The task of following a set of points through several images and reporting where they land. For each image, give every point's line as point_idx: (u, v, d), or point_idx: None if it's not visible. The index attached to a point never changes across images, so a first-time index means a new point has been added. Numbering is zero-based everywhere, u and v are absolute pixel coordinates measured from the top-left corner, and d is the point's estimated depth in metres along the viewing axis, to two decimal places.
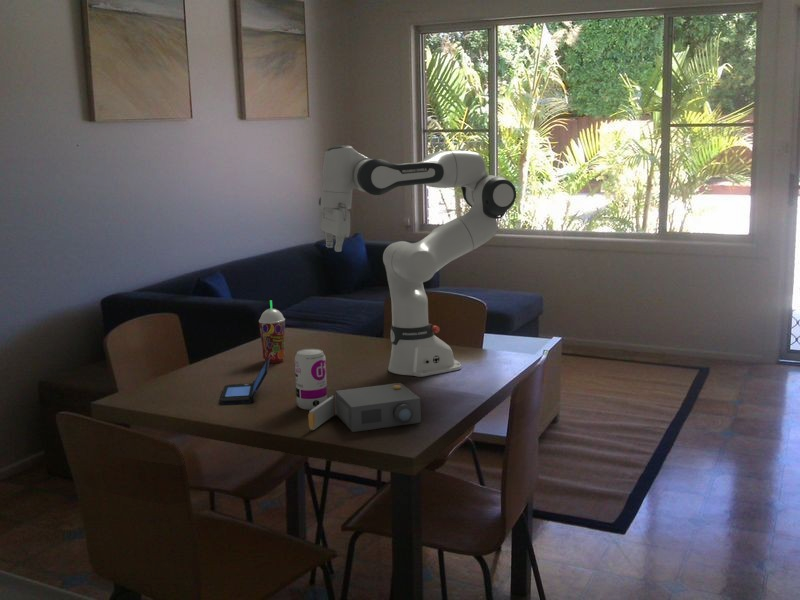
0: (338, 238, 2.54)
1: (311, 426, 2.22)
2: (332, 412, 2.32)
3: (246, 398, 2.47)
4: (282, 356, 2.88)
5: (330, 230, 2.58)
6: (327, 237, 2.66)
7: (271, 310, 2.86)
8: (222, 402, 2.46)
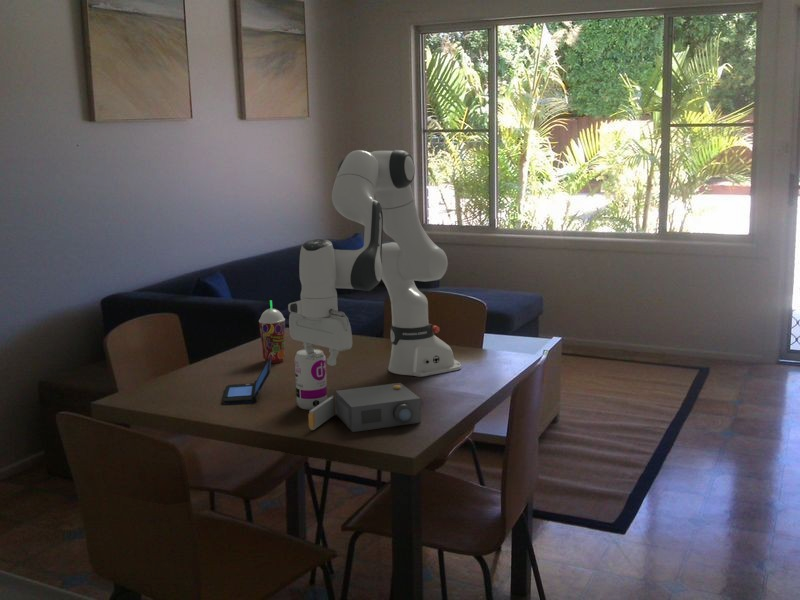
0: (334, 351, 2.15)
1: (311, 426, 2.22)
2: (332, 412, 2.32)
3: (249, 398, 2.47)
4: (282, 356, 2.88)
5: (320, 342, 2.17)
6: (307, 348, 2.22)
7: (271, 310, 2.86)
8: (225, 402, 2.46)
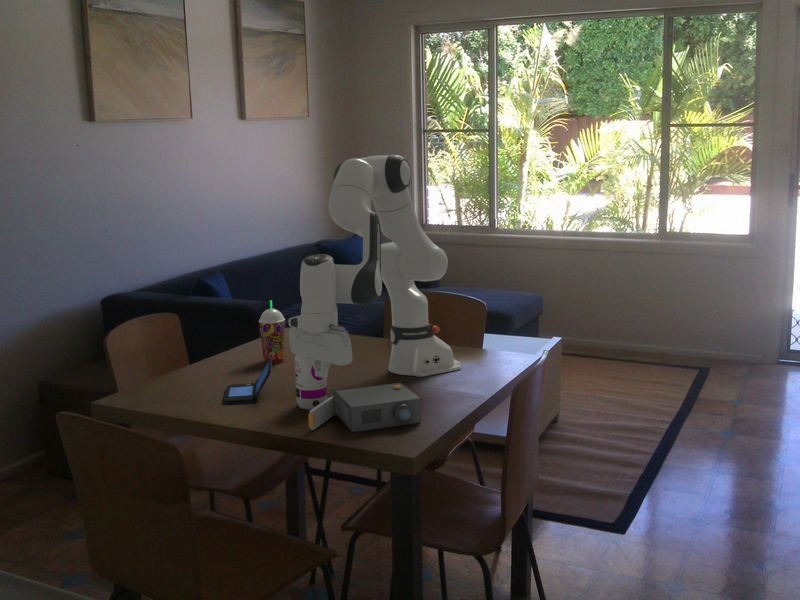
0: (325, 363, 2.18)
1: (311, 426, 2.22)
2: (332, 412, 2.32)
3: (250, 398, 2.47)
4: (282, 356, 2.88)
5: (320, 357, 2.17)
6: (315, 365, 2.21)
7: (271, 310, 2.86)
8: (226, 402, 2.46)
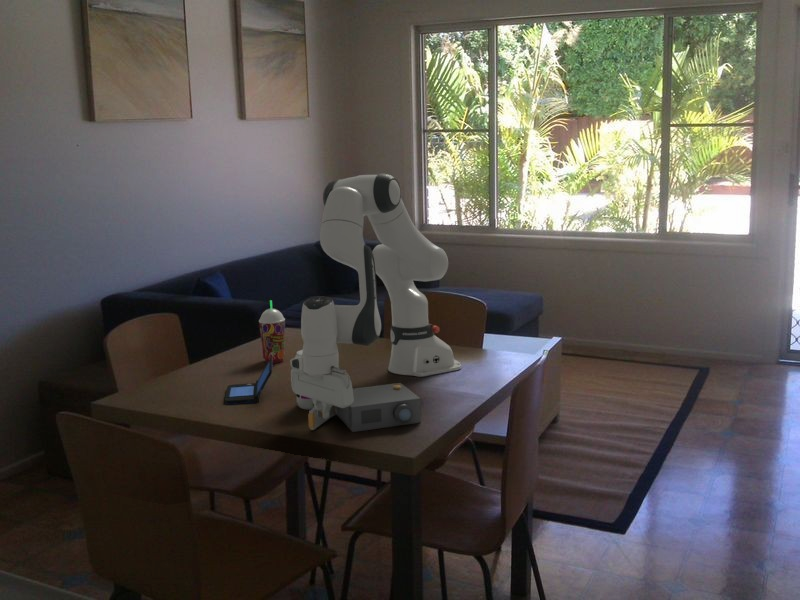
0: (327, 404, 2.20)
1: (311, 426, 2.22)
2: (332, 412, 2.32)
3: (251, 398, 2.47)
4: (282, 356, 2.88)
5: (321, 398, 2.19)
6: (317, 405, 2.23)
7: (271, 310, 2.86)
8: (227, 402, 2.46)
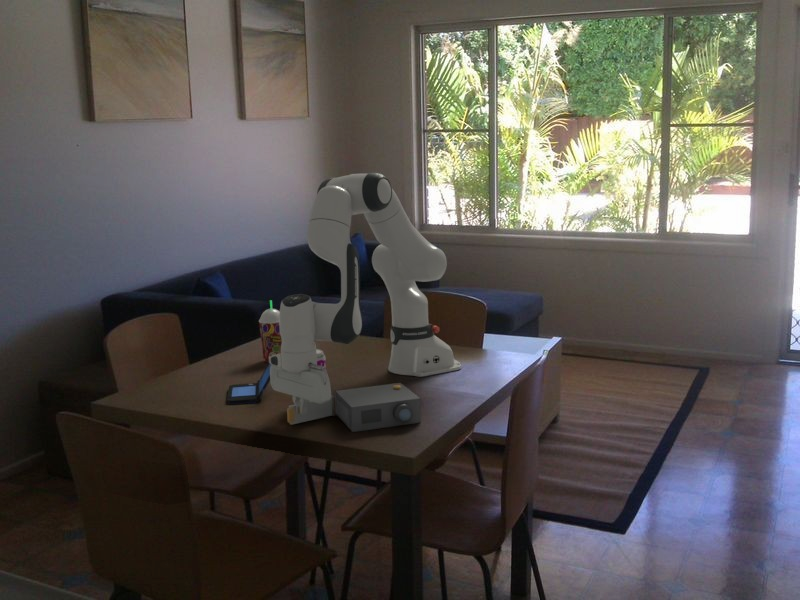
0: (304, 400, 2.24)
1: (288, 420, 2.26)
2: (329, 412, 2.33)
3: (253, 398, 2.47)
4: None
5: (299, 394, 2.23)
6: (296, 402, 2.26)
7: (271, 310, 2.86)
8: (229, 402, 2.46)
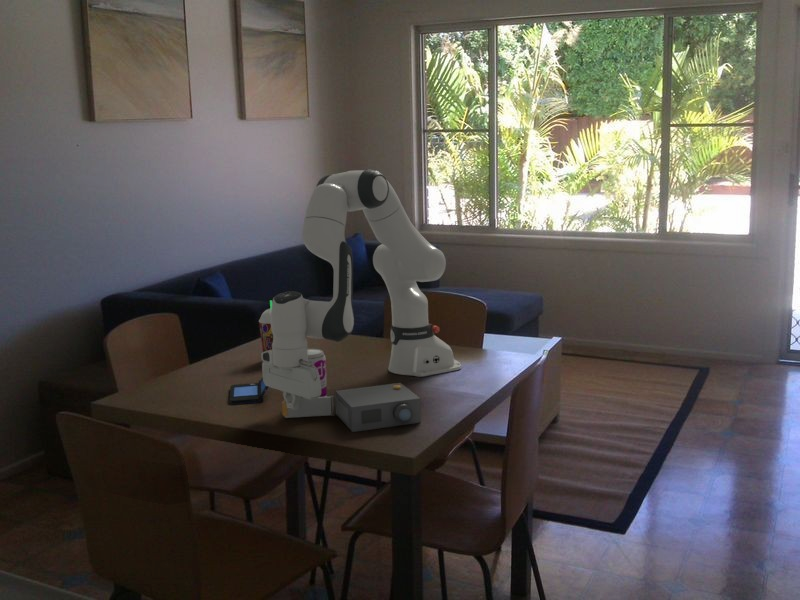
0: (296, 396, 2.27)
1: None
2: (327, 411, 2.33)
3: (255, 397, 2.48)
4: None
5: (290, 390, 2.26)
6: (287, 397, 2.30)
7: None
8: (232, 402, 2.46)
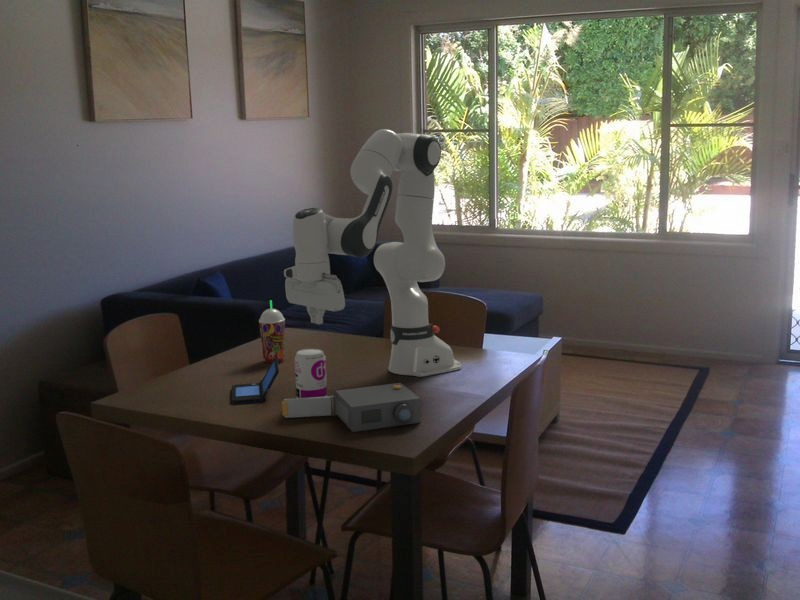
0: (320, 310, 2.33)
1: None
2: (327, 411, 2.33)
3: (258, 397, 2.48)
4: (282, 356, 2.88)
5: (314, 304, 2.32)
6: (311, 312, 2.36)
7: (271, 310, 2.86)
8: (234, 402, 2.46)
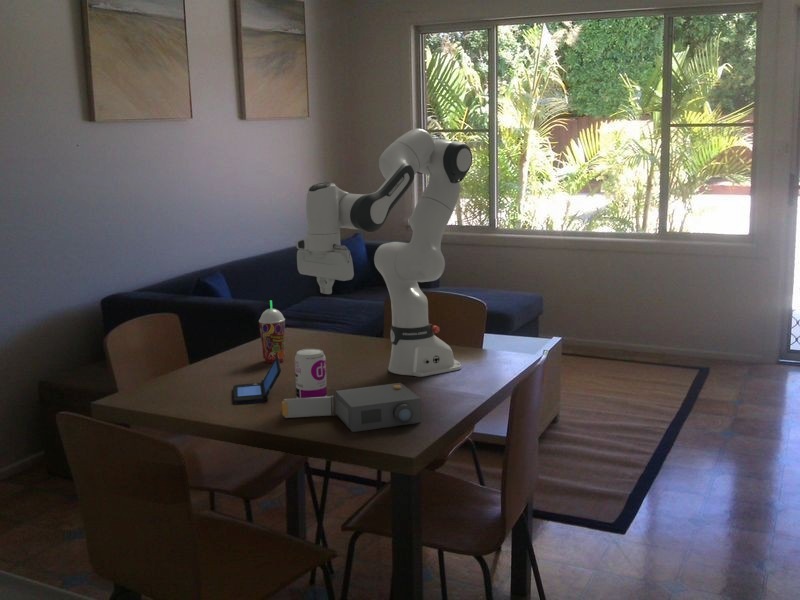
0: (329, 280, 2.43)
1: None
2: (327, 411, 2.33)
3: (260, 397, 2.48)
4: (282, 356, 2.88)
5: (324, 274, 2.42)
6: (320, 282, 2.46)
7: (271, 310, 2.86)
8: (236, 402, 2.46)
